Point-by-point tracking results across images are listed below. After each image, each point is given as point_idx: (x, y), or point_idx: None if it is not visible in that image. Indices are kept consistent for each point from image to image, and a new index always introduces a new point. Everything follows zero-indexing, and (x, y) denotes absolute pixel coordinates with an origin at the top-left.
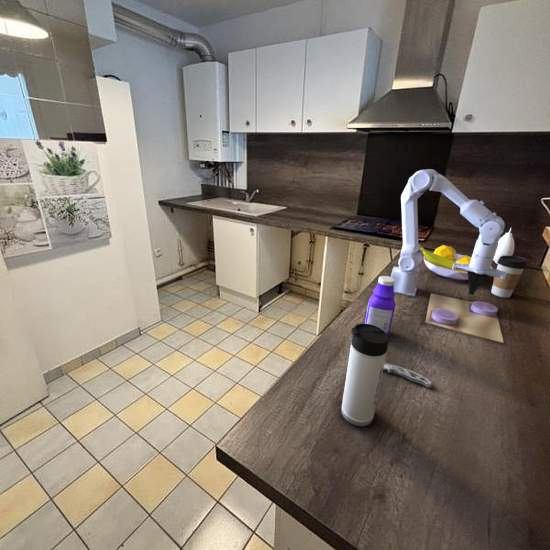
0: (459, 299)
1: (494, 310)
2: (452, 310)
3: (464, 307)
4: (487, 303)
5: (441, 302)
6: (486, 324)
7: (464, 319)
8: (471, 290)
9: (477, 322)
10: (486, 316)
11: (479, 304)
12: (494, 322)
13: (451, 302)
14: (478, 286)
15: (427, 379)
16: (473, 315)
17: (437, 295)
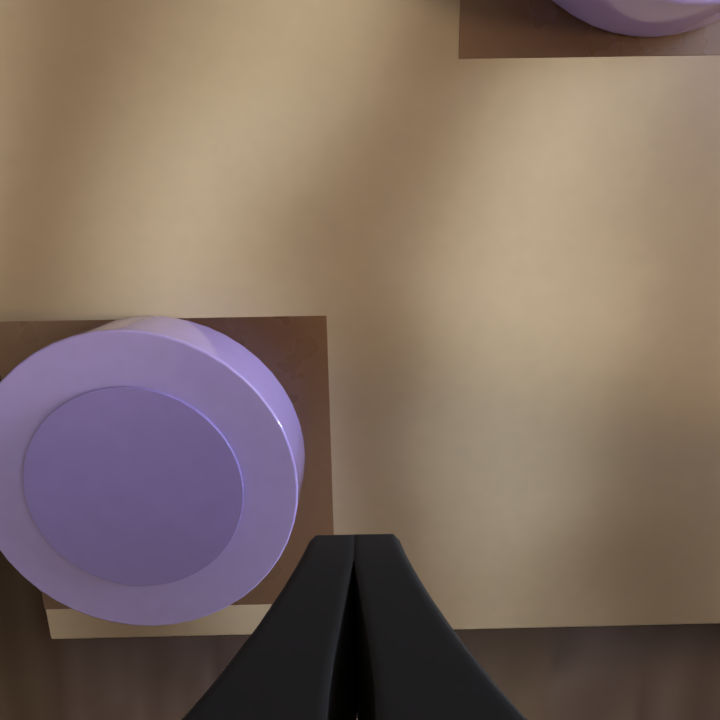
0: None
1: (6, 416)
2: (528, 237)
3: (377, 428)
4: (109, 600)
5: (655, 414)
6: (102, 34)
7: (380, 18)
8: (372, 575)
9: (213, 20)
10: (118, 310)
11: (204, 502)
12: (15, 170)
13: (528, 488)
14: (212, 696)
15: None
16: (269, 239)
17: (686, 600)
